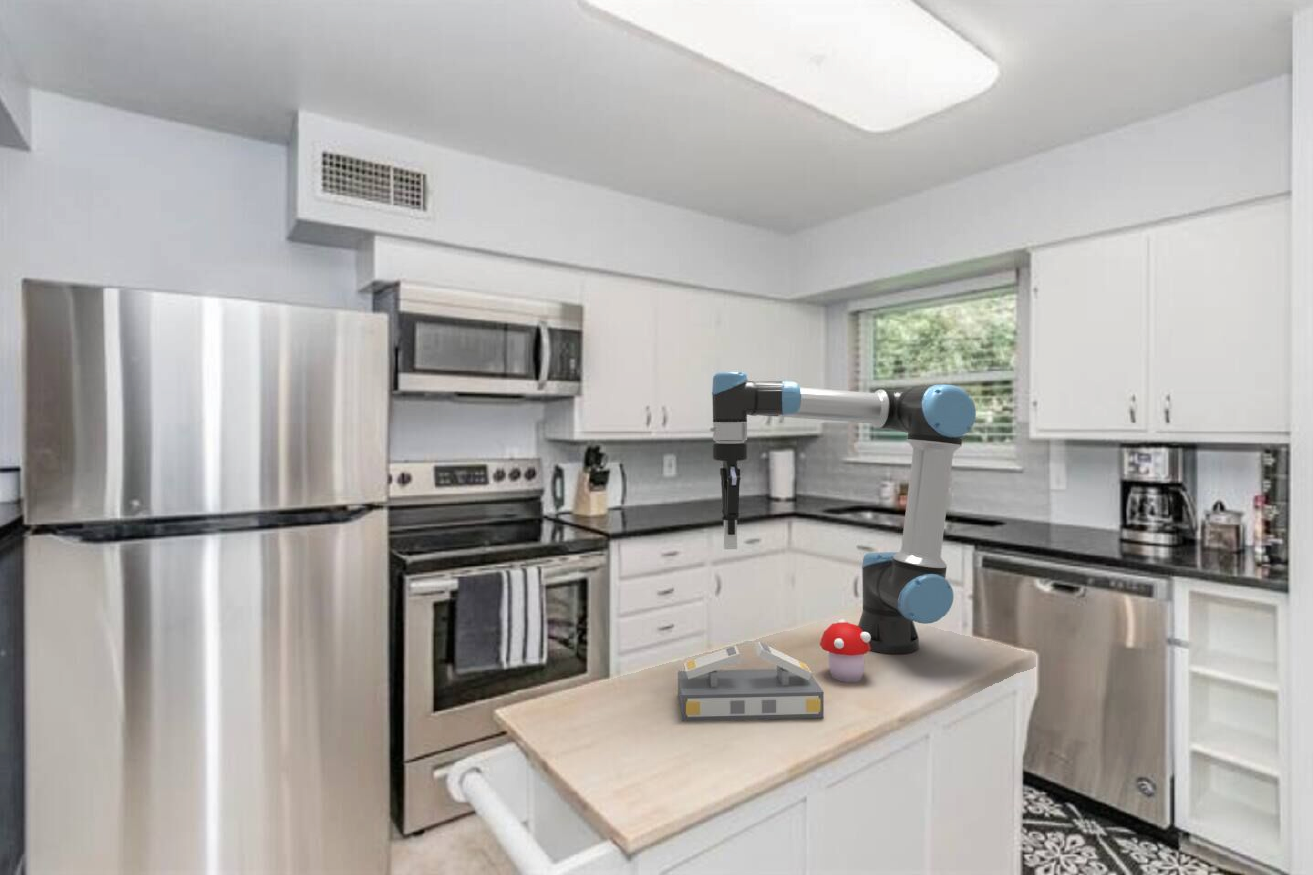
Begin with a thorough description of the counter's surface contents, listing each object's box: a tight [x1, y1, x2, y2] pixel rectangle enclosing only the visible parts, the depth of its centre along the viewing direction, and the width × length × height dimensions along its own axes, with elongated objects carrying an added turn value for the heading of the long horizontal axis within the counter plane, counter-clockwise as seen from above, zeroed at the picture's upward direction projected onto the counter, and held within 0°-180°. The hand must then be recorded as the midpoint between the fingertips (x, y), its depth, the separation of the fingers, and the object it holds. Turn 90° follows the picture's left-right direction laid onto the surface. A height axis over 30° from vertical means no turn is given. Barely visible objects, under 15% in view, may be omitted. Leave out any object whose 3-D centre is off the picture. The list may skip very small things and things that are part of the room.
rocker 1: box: [683, 644, 742, 679], centre depth 132 cm, size 11×5×2 cm, turn 91°
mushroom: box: [819, 618, 871, 683], centre depth 147 cm, size 11×11×12 cm
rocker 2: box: [753, 641, 813, 681], centre depth 133 cm, size 11×5×2 cm, turn 93°
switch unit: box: [677, 665, 825, 722], centre depth 132 cm, size 27×12×8 cm, turn 92°
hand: (730, 548), depth 148 cm, fingers closed
